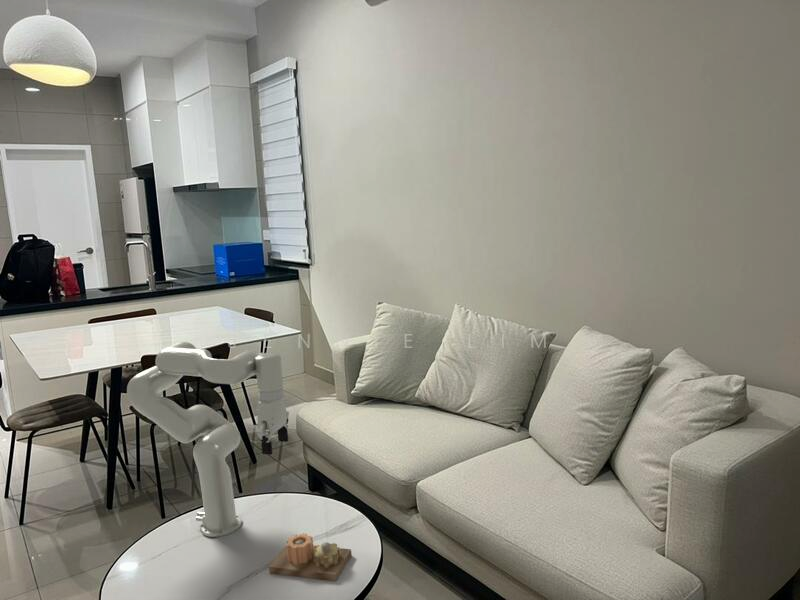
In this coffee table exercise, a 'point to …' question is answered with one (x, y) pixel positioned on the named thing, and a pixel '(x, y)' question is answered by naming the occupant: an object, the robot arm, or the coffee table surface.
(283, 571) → the gear board
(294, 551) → the loose gear
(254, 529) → the coffee table surface
